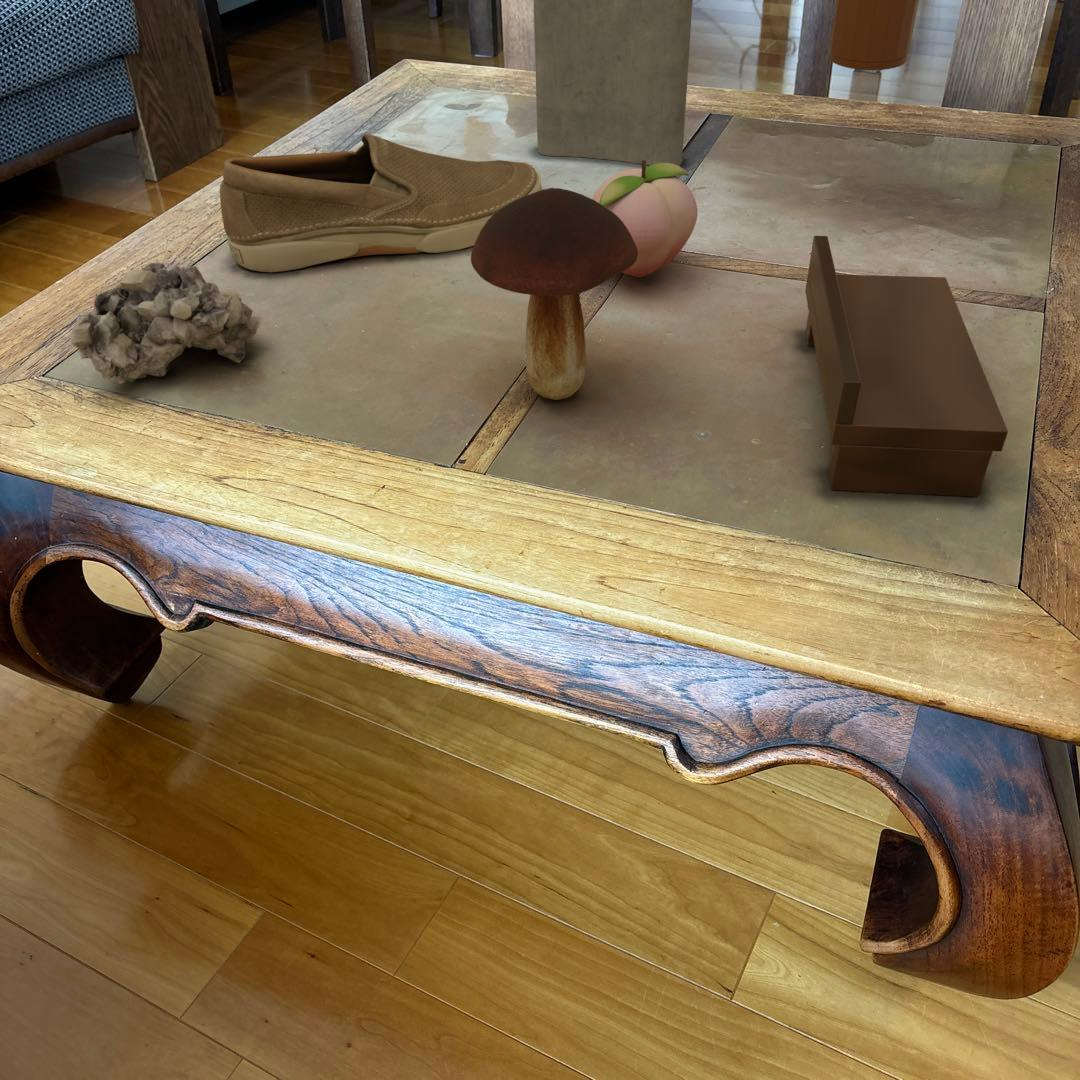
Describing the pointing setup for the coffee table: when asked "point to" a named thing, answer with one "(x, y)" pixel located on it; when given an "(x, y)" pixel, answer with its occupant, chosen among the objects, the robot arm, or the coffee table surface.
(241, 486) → the coffee table surface
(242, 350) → the mineral specimen
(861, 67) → the bottle
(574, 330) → the decorative mushroom
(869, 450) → the walnut bench
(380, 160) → the slip on shoe
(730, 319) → the coffee table surface
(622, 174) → the decorative fruit
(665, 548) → the coffee table surface
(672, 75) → the grey upright slab
